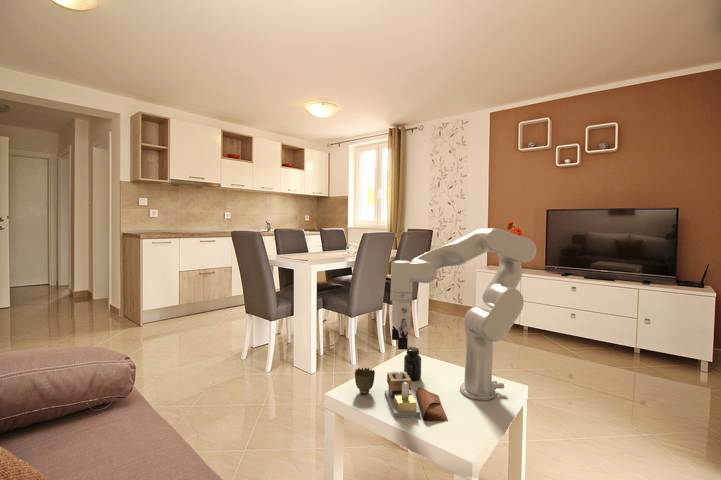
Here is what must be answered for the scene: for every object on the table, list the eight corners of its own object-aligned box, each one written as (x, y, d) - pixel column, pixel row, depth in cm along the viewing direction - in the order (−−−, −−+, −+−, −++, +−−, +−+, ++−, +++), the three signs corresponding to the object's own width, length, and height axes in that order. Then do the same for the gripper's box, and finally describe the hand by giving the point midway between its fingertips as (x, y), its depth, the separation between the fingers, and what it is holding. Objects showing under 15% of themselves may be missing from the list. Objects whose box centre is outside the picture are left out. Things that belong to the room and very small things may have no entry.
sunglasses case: (450, 422, 112) (440, 403, 112) (430, 432, 112) (420, 414, 112) (438, 394, 130) (429, 379, 130) (421, 404, 130) (412, 388, 130)
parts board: (407, 393, 130) (407, 389, 130) (420, 416, 115) (420, 412, 115) (384, 394, 129) (384, 390, 129) (394, 417, 114) (394, 413, 113)
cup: (372, 399, 126) (373, 376, 125) (352, 396, 127) (352, 374, 127) (375, 389, 133) (376, 368, 133) (356, 387, 134) (357, 366, 134)
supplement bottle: (408, 373, 148) (409, 344, 148) (423, 377, 144) (424, 348, 144) (400, 378, 143) (401, 349, 142) (415, 383, 139) (416, 353, 138)
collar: (405, 381, 130) (406, 371, 130) (410, 390, 123) (411, 380, 123) (387, 381, 129) (387, 372, 129) (391, 390, 122) (391, 380, 122)
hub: (411, 402, 121) (411, 378, 120) (416, 411, 115) (416, 386, 115) (393, 402, 120) (394, 379, 120) (398, 412, 114) (398, 387, 114)
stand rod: (404, 390, 130) (405, 367, 129) (408, 398, 124) (409, 374, 123) (388, 390, 129) (389, 368, 129) (391, 398, 123) (392, 375, 123)
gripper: (418, 301, 117) (416, 352, 117) (405, 291, 134) (403, 336, 135) (396, 301, 116) (394, 353, 117) (385, 291, 133) (384, 336, 134)
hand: (399, 344), depth 126 cm, fingers open, 9 cm apart
